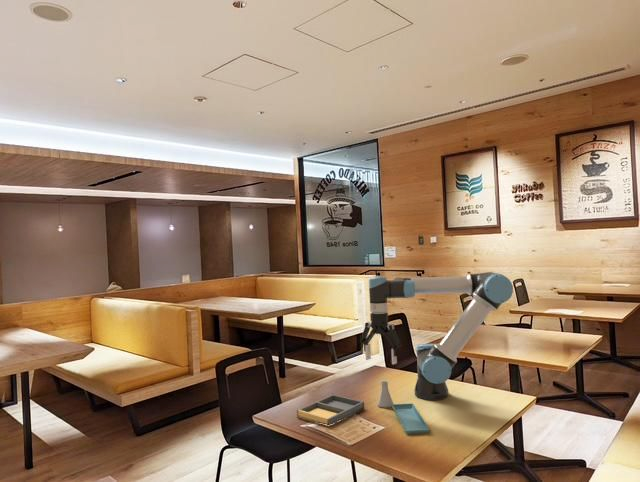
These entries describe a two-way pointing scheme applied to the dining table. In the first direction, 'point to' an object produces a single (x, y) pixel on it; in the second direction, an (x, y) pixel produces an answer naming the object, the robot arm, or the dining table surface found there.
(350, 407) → the caddy
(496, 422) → the dining table surface
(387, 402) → the flask
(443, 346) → the robot arm
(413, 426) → the shallow long dish
